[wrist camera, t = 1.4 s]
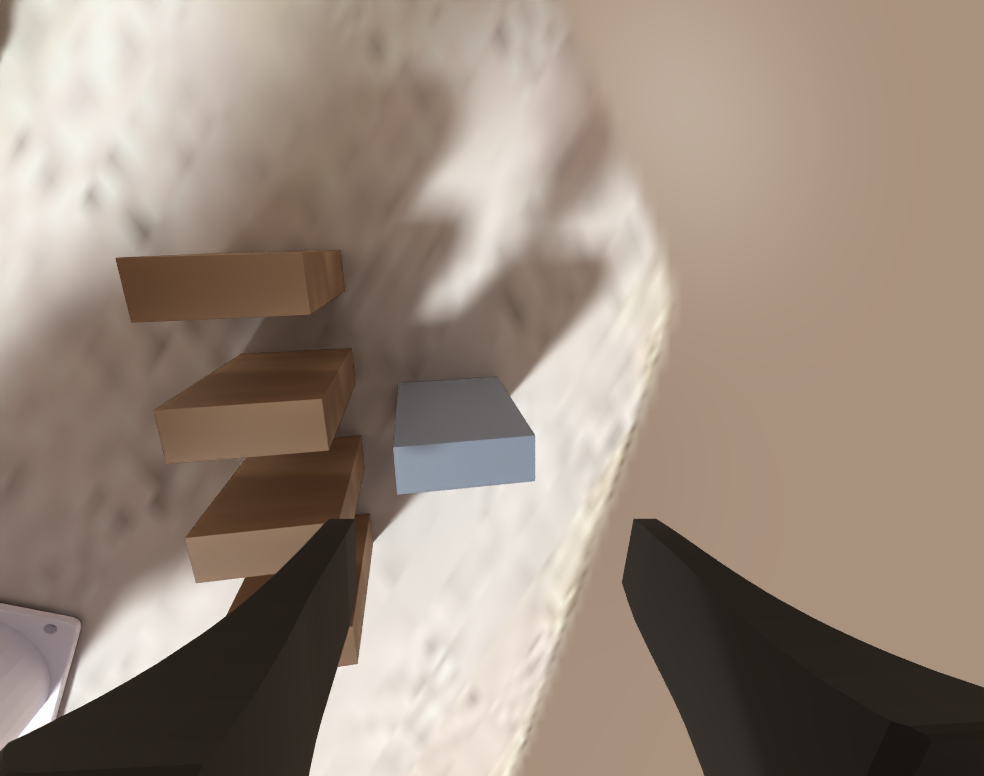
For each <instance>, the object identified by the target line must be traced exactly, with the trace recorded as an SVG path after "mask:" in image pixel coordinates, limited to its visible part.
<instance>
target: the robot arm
mask: <svg viewBox="0 0 984 776" xmlns="http://www.w3.org/2000/svg"><path fill="white" fill-rule="evenodd" d="M622 584H623V587H624V590H625V593H626V597H627V600H628V603H629V606H630V608H631V611H632V614H633V617H634V620H635V621H636V624H637V626H638V628H639V630H640V632H641V634H642V636H643V638H644V640H645V643H646V645H647V647H648V649H649V651H650V653H651V655H652V657H653V659H654V661H655V663H656V665H657V667H658V669H659V671H660V673H661V675H662V677H663V679H664V681H665V683H666V685H667V687H668V689H669V691H670V693H671V695H672V697H673V699H674V701H675V703H676V706H677V708H678V710H679V712H680V714H681V717H682V719H683V721H684V723H685V726H686V728H687V731H688V734H689V736H690V739H691V741H692V744H693V747H694V749H695V752H696V754H697V757H698V759H699V762H700V765H701V767H702V770H703V773H704V776H984V687H981V686H978V685H975V684H972V683H969V682H966V681H963V680H960V679H957V678H954V677H951V676H948V675H945V674H943V673H939V672H937V671H934V670H931V669H928V668H926V667H923V666H921V665H918V664H916V663H913V662H910V661H908V660H906V659H903V658H901V657H898V656H895V655H893V654H891V653H888V652H886V651H883V650H881V649H879V648H876V647H874V646H872V645H869V644H867V643H865V642H863V641H860V640H858V639H856V638H854V637H852V636H850V635H847V634H845V633H843V632H841V631H839V630H836V629H835V628H832V627H830V626H828V625H826V624H824V623H822V622H820V621H818V620H816V619H814V618H812V617H810V616H809V615H807V614H805V613H803V612H801V611H799V610H797V609H795V608H794V607H792V606H790V605H788V604H786V603H785V602H783V601H781V600H779V599H777V598H776V597H774V596H772V595H771V594H769V593H767V592H765V591H764V590H762V589H761V588H759V587H757V586H756V585H754V584H752V583H751V582H749V581H748V580H746V579H745V578H743V577H741V576H740V575H738V574H737V573H735V572H734V571H732V570H731V569H729V568H728V567H726V566H725V565H723V564H722V563H720V562H719V561H717V560H716V559H714V558H713V557H711V556H710V555H709V554H707V553H706V552H704V551H703V550H701V549H700V548H698V547H697V546H696V545H694V544H693V543H691V542H690V541H689V540H687V539H686V538H684V537H683V536H681V535H680V534H678V533H677V532H676V531H674V530H673V529H671V528H670V527H668V526H666V525H665V524H663V523H662V522H660V521H658V520H657V519H634V520H633V525H632V531H631V536H630V542H629V547H628V553H627V558H626V563H625V569H624V574H623V580H622ZM356 588H357V580H356V547H355V519H329V520H327V521H326V522H325V523H324V524H323V525H322V526H321V527H320V528H319V530H318V531H317V532H316V533H315V534H314V535H313V536H312V537H311V538H310V539H309V540H308V541H307V542H306V543H305V544H304V546H303V547H302V548H301V549H300V550H299V551H298V552H297V553H296V554H295V555H294V556H293V557H292V558H291V559H290V560H289V561H288V562H287V563H286V564H285V565H284V566H283V567H282V568H281V569H280V570H279V571H278V572H277V573H276V574H274V575H273V576H272V577H271V578H270V579H269V580H268V581H267V582H266V583H265V584H263V585H262V586H261V587H260V588H259V589H258V590H257V591H256V592H255V593H253V594H252V595H251V596H250V597H249V598H248V599H247V600H245V601H244V602H243V603H242V604H241V605H239V606H238V607H237V608H236V609H235V610H233V611H232V612H231V613H230V614H228V615H227V616H226V617H224V618H223V619H222V620H220V621H219V622H218V623H216V624H215V625H214V626H212V627H211V628H210V629H208V630H207V631H206V632H204V633H203V634H201V635H200V636H198V637H197V638H195V639H194V640H192V641H191V642H189V643H188V644H186V645H185V646H183V647H182V648H180V649H179V650H177V651H176V652H174V653H173V654H171V655H170V656H168V657H167V658H165V659H164V660H162V661H161V662H159V663H157V664H156V665H154V666H153V667H151V668H149V669H148V670H146V671H144V672H142V673H141V674H139V675H137V676H136V677H134V678H132V679H131V680H129V681H127V682H125V683H124V684H122V685H120V686H118V687H117V688H115V689H113V690H111V691H109V692H108V693H106V694H104V695H102V696H100V697H99V698H97V699H95V700H93V701H91V702H89V703H87V704H85V705H84V706H82V707H80V708H78V709H76V710H74V711H72V712H70V713H68V714H66V715H64V716H62V717H60V718H57V719H56V717H57V713H58V709H59V706H60V702H61V699H62V695H63V691H64V688H65V684H66V681H67V677H68V673H69V670H70V666H71V663H72V659H73V655H74V652H75V648H76V645H77V641H78V637H79V634H80V630H81V623H80V621H79V620H77V619H76V618H74V617H70V616H65V615H60V614H55V613H50V612H44V611H39V610H34V609H29V608H24V607H18V606H13V605H8V604H3V603H0V776H309V772H310V767H311V762H312V757H313V753H314V748H315V743H316V739H317V735H318V732H319V728H320V724H321V720H322V717H323V713H324V710H325V707H326V704H327V700H328V697H329V694H330V690H331V687H332V684H333V680H334V677H335V674H336V670H337V667H338V664H339V661H340V657H341V654H342V650H343V647H344V644H345V640H346V637H347V634H348V630H349V627H350V621H351V616H352V611H353V605H354V599H355V593H356ZM51 624H52V625H55V626H56V627H54V626H52V625H51Z"/></svg>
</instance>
